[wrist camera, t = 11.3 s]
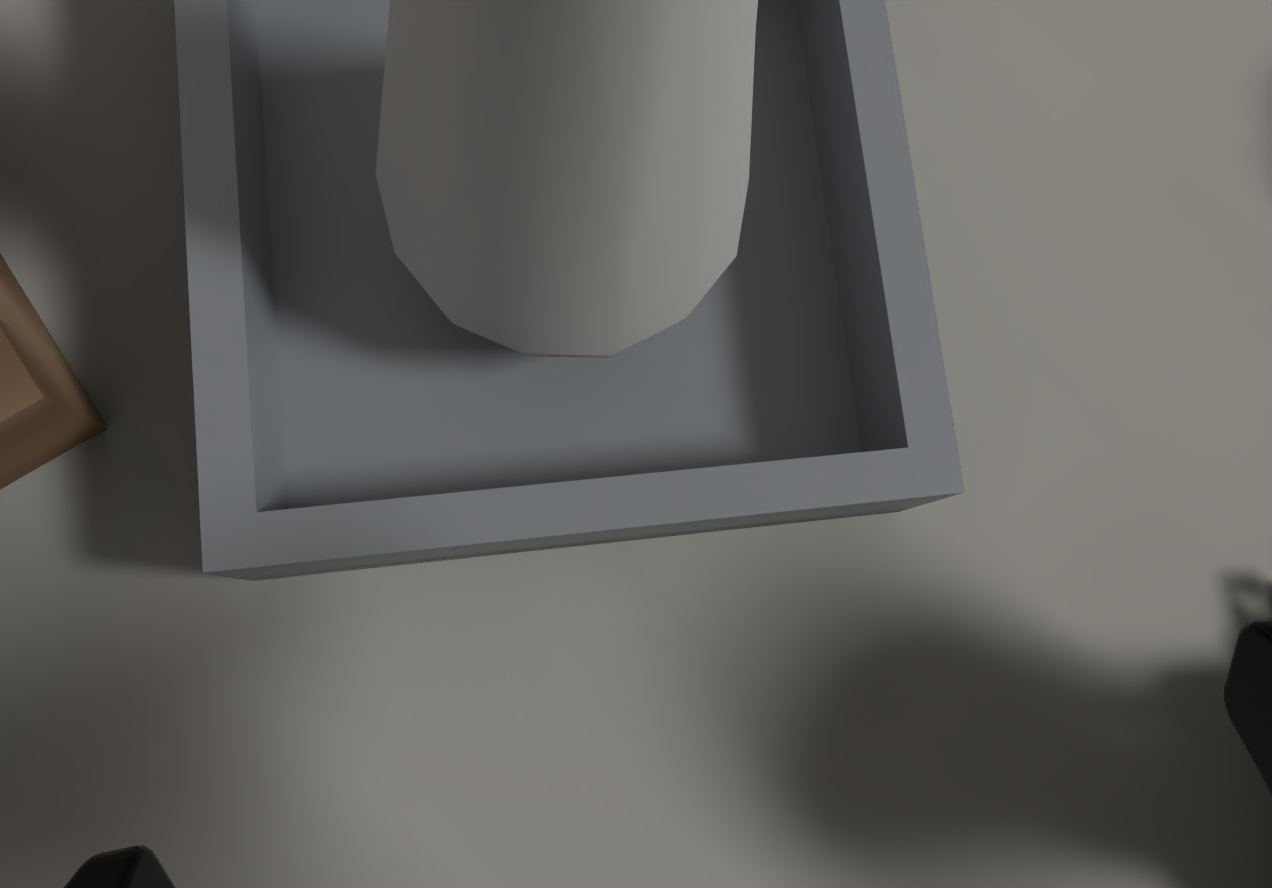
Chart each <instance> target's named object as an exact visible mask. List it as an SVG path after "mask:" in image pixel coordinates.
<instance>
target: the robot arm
mask: <svg viewBox="0 0 1272 888" xmlns="http://www.w3.org/2000/svg"><path fill="white" fill-rule="evenodd" d="M1224 701H1225V706H1226V709H1227V712H1228V715H1229V717H1230V719H1231V722H1232V723H1233V725H1234V727H1235V729H1236V731H1237V733H1238V734H1239V736H1240V738H1241V740H1242V742H1243V744H1244V745H1245V747H1246V749H1247V751H1248V753H1249V755H1250V756H1251V758H1252V760H1253V762H1254V764H1255V766H1256V767H1257V769H1258V771H1259V773H1260V775H1261V777H1262V779H1263V780H1264V782H1265V784H1266V786H1267V788H1268V790H1269V791H1270V793H1271V795H1272V617H1270V618H1265V619H1260V620H1255V621H1251V622H1249V623H1247V624H1246V625H1245V626H1244V627H1243V628H1242V629H1241V631H1240V633H1239V635H1238V639H1237V643H1236V646H1235V650H1234V654H1233V657H1232V661H1231V665H1230V668H1229V672H1228V675H1227V679H1226V683H1225V687H1224ZM64 888H175V886H174V885H173V883H172V882H171V880H170V878H169V877H168V875H167V873H166V872H165V870H164V868H163V867H162V865H161V863H160V862H159V860H158V858H157V857H156V855H155V854H154V853H153V851H152V850H151V849H149V848H147V847H145V846H133V847H128V848H123V849H118V850H113V851H108V852H103V853H100V854H97V855H94V856H93V857H91V858H90V859H89V860H87V861H86V862H85V863H84V864H83V865H82V866H81V867H80V868H79V869H78V871H77V872H76V873H75V874H74V876H73V877H72V878H71V879H70V881H69V882H68V883H67V884H66V886H65V887H64Z"/></svg>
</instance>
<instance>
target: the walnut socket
mask: <svg viewBox="0 0 1272 888" xmlns="http://www.w3.org/2000/svg"><path fill="white" fill-rule="evenodd" d="M106 428H107V426H106V425H105V423H104V421H103V420H102V418H101V416H100V415H99V413H98V412H97V410H96V408H95V407H94V405H93V403H92V402H91V400H90V399H89V397H88V395H87V394H86V392H85V390H84V389H83V387H82V386H81V384H80V382H79V381H78V379H77V377H76V376H75V374H74V373H73V371H72V369H71V368H70V366H69V364H68V363H67V361H66V360H65V358H64V356H63V355H62V353H61V351H60V350H59V348H58V347H57V345H56V343H55V342H54V340H53V338H52V337H51V335H50V334H49V332H48V330H47V329H46V327H45V325H44V324H43V322H42V321H41V319H40V317H39V316H38V314H37V312H36V311H35V309H34V307H33V306H32V304H31V303H30V301H29V299H28V298H27V296H26V294H25V293H24V291H23V290H22V288H21V286H20V285H19V283H18V281H17V280H16V278H15V277H14V275H13V273H12V272H11V270H10V268H9V267H8V265H7V264H6V262H5V260H4V259H3V257H2V255H1V254H0V489H1V488H3V487H5V486H7V485H8V484H10V483H12V482H14V481H15V480H17V479H19V478H21V477H22V476H24V475H26V474H27V473H29V472H31V471H33V470H34V469H36V468H38V467H40V466H41V465H43V464H45V463H47V462H48V461H50V460H52V459H53V458H55V457H57V456H59V455H60V454H62V453H64V452H66V451H67V450H69V449H71V448H73V447H74V446H76V445H78V444H79V443H81V442H83V441H85V440H86V439H88V438H90V437H92V436H93V435H95V434H97V433H99V432H100V431H102V430H104V429H106Z"/></svg>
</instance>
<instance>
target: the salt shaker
mask: <svg viewBox="0 0 1272 888" xmlns="http://www.w3.org/2000/svg"><path fill="white" fill-rule="evenodd" d="M757 7H758V0H390V7H389V19H388V31H387V43H386V55H385V67H384V79H383V91H382V103H381V115H380V127H379V139H378V151H377V163H376V179H377V183H378V187H379V191H380V195H381V199H382V203H383V207H384V211H385V215H386V219H387V223H388V227H389V232H390V236H391V240H392V244H393V248H394V252H395V254H396V255H397V256H398V258H399V259H400V260H401V261H402V262H403V264H404V265H405V266H406V267H407V269H408V270H409V271H410V272H411V273H412V275H413V276H414V277H415V278H416V280H417V281H418V282H419V283H420V284H421V286H422V287H423V288H424V289H425V291H426V292H427V293H428V294H429V295H430V297H431V298H432V299H433V300H434V302H435V303H436V304H437V305H438V307H439V308H440V309H441V310H442V311H443V313H444V314H445V315H446V316H447V318H448V319H449V320H450V321H451V322H452V323H453V324H455V325H457V326H459V327H461V328H464V329H466V330H468V331H471V332H473V333H475V334H477V335H480V336H482V337H484V338H487V339H489V340H491V341H493V342H496V343H498V344H500V345H503V346H505V347H507V348H509V349H512V350H514V351H516V352H519V353H521V354H523V355H525V356H531V357H593V358H609V357H611V356H613V355H615V354H617V353H619V352H621V351H623V350H625V349H627V348H629V347H631V346H633V345H635V344H637V343H639V342H640V341H642V340H644V339H646V338H648V337H650V336H652V335H654V334H656V333H658V332H660V331H662V330H664V329H666V328H668V327H670V326H672V325H674V324H676V323H678V322H679V321H681V320H683V319H685V318H686V317H687V316H688V315H689V314H690V313H691V311H692V310H693V309H694V308H695V306H696V305H697V304H698V303H699V301H700V300H701V299H702V298H703V297H704V295H705V294H706V293H707V292H708V290H709V289H710V288H711V287H712V285H713V284H714V283H715V282H716V281H717V279H718V278H719V277H720V276H721V274H722V273H723V272H724V271H725V270H726V268H727V267H728V266H729V265H730V263H731V262H732V261H733V260H734V258H735V257H736V256H737V250H738V244H739V237H740V231H741V225H742V219H743V213H744V207H745V201H746V194H747V188H748V182H749V168H750V145H751V123H752V100H753V78H754V55H755V32H756V19H757Z"/></svg>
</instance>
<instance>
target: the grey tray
mask: <svg viewBox="0 0 1272 888" xmlns="http://www.w3.org/2000/svg"><path fill="white" fill-rule="evenodd" d="M389 7H390V0H174V13H175V33H176V53H177V73H178V92H179V112H180V132H181V152H182V172H183V192H184V212H185V231H186V251H187V271H188V291H189V311H190V331H191V351H192V370H193V390H194V410H195V430H196V450H197V470H198V490H199V509H200V529H201V549H202V569H203V573H208V574H215V575H222V576H228V577H235V578H241V579H248V580H263V579H273V578H282V577H291V576H301V575H310V574H320V573H329V572H338V571H348V570H357V569H366V568H376V567H385V566H395V565H404V564H413V563H423V562H432V561H441V560H451V559H460V558H469V557H479V556H488V555H498V554H507V553H516V552H526V551H535V550H544V549H554V548H563V547H573V546H582V545H591V544H601V543H610V542H619V541H629V540H638V539H647V538H657V537H666V536H676V535H685V534H694V533H704V532H713V531H722V530H732V529H741V528H751V527H760V526H769V525H779V524H788V523H797V522H807V521H816V520H825V519H835V518H844V517H854V516H863V515H872V514H882V513H891V512H899V511H903V510H906V509H909V508H913V507H916V506H920V505H923V504H927V503H930V502H933V501H937V500H940V499H944V498H947V497H951V496H954V495H957V494H961V493H964V486H963V480H962V474H961V468H960V462H959V455H958V449H957V443H956V437H955V431H954V425H953V418H952V412H951V406H950V400H949V394H948V387H947V381H946V375H945V369H944V363H943V356H942V350H941V344H940V338H939V332H938V326H937V319H936V313H935V307H934V301H933V295H932V288H931V282H930V276H929V270H928V264H927V257H926V251H925V245H924V239H923V233H922V227H921V220H920V214H919V208H918V202H917V196H916V189H915V183H914V177H913V171H912V165H911V158H910V152H909V146H908V140H907V134H906V128H905V121H904V115H903V109H902V103H901V97H900V90H899V84H898V78H897V72H896V66H895V59H894V53H893V47H892V41H891V35H890V28H889V22H888V16H887V10H886V4H885V0H758V7H757V19H756V32H755V55H754V78H753V100H752V123H751V145H750V168H749V182H748V188H747V194H746V201H745V207H744V213H743V219H742V225H741V231H740V237H739V244H738V250H737V256H736V257H735V258H734V260H733V261H732V262H731V263H730V265H729V266H728V267H727V268H726V270H725V271H724V272H723V273H722V274H721V276H720V277H719V278H718V279H717V281H716V282H715V283H714V284H713V285H712V287H711V288H710V289H709V290H708V292H707V293H706V294H705V295H704V297H703V298H702V299H701V300H700V301H699V303H698V304H697V305H696V306H695V308H694V309H693V310H692V311H691V313H690V314H689V315H688V316H687V317H686V318H685V319H683V320H681V321H679V322H678V323H676V324H674V325H672V326H670V327H668V328H666V329H664V330H662V331H660V332H658V333H656V334H654V335H652V336H650V337H648V338H646V339H644V340H642V341H640V342H639V343H637V344H635V345H633V346H631V347H629V348H627V349H625V350H623V351H621V352H619V353H617V354H615V355H613V356H611V357H609V358H593V357H531V356H525V355H523V354H521V353H519V352H516V351H514V350H512V349H509V348H507V347H505V346H503V345H500V344H498V343H496V342H493V341H491V340H489V339H487V338H484V337H482V336H480V335H477V334H475V333H473V332H471V331H468V330H466V329H464V328H461V327H459V326H457V325H455V324H453V323H452V322H451V321H450V320H449V319H448V318H447V316H446V315H445V314H444V313H443V311H442V310H441V309H440V308H439V307H438V305H437V304H436V303H435V302H434V300H433V299H432V298H431V297H430V295H429V294H428V293H427V292H426V291H425V289H424V288H423V287H422V286H421V284H420V283H419V282H418V281H417V280H416V278H415V277H414V276H413V275H412V273H411V272H410V271H409V270H408V269H407V267H406V266H405V265H404V264H403V262H402V261H401V260H400V259H399V258H398V256H397V255H396V254H395V252H394V248H393V244H392V240H391V236H390V232H389V227H388V223H387V219H386V215H385V211H384V207H383V203H382V199H381V195H380V191H379V187H378V183H377V179H376V163H377V151H378V139H379V127H380V115H381V103H382V91H383V79H384V67H385V55H386V43H387V31H388V19H389Z"/></svg>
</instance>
